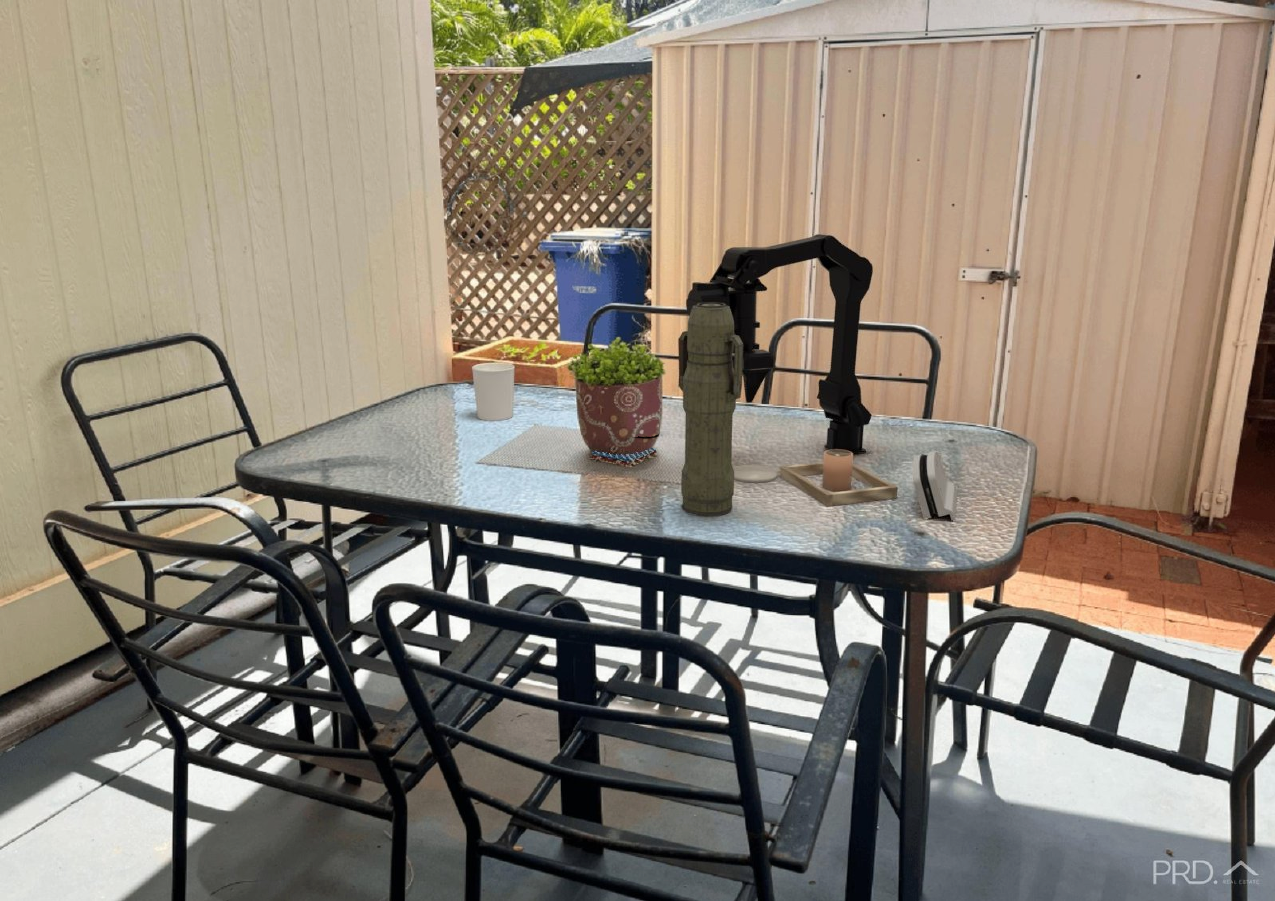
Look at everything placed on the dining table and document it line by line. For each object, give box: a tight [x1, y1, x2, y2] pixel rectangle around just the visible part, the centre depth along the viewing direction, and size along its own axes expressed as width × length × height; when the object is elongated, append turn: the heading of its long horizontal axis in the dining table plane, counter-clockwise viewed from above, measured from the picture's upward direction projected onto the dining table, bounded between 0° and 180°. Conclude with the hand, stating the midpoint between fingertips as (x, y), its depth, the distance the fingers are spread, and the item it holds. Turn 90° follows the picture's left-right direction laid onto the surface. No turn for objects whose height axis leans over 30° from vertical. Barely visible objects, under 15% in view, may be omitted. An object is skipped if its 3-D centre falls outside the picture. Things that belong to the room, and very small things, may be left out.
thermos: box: [677, 302, 743, 517], centre depth 166 cm, size 9×12×35 cm
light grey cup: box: [471, 362, 516, 422], centre depth 232 cm, size 10×10×12 cm
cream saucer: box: [732, 464, 778, 484], centre depth 189 cm, size 9×9×1 cm
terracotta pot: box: [821, 449, 854, 492], centre depth 181 cm, size 5×5×7 cm
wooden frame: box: [779, 461, 899, 507], centre depth 182 cm, size 14×18×2 cm
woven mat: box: [590, 447, 658, 468], centre depth 201 cm, size 10×11×2 cm
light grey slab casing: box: [912, 451, 958, 521], centre depth 172 cm, size 17×5×10 cm, turn 161°
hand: (739, 397), depth 191 cm, fingers open, 9 cm apart
